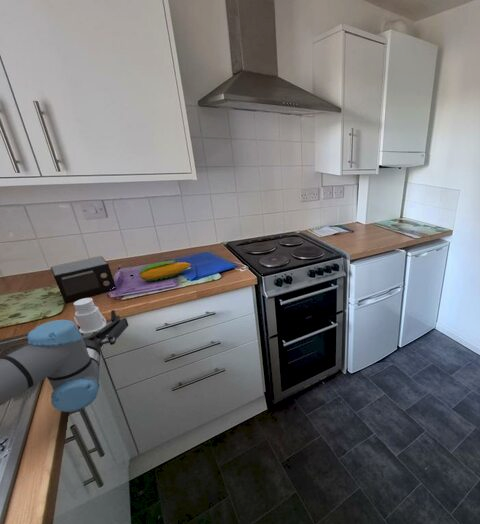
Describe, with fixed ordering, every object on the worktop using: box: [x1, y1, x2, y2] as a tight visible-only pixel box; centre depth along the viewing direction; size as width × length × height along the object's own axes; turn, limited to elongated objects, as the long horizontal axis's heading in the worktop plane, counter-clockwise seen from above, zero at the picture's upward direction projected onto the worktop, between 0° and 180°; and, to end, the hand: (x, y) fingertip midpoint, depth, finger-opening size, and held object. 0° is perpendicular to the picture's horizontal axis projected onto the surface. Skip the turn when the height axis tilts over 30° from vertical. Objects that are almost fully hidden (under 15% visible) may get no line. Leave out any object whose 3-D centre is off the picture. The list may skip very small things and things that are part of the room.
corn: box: [139, 260, 192, 282], centre depth 133 cm, size 7×8×20 cm
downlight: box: [72, 297, 107, 335], centre depth 97 cm, size 8×7×10 cm
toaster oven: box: [50, 255, 117, 304], centre depth 119 cm, size 13×16×12 cm
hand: (86, 320), depth 91 cm, fingers open, 13 cm apart
